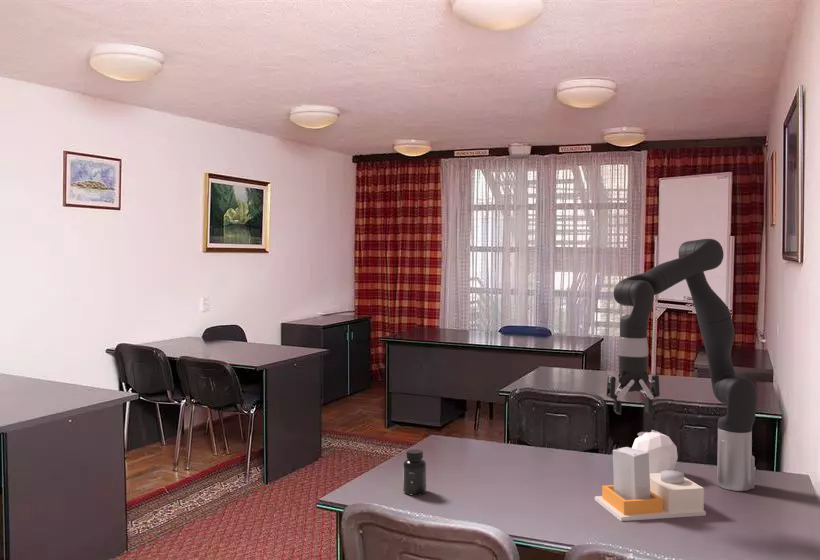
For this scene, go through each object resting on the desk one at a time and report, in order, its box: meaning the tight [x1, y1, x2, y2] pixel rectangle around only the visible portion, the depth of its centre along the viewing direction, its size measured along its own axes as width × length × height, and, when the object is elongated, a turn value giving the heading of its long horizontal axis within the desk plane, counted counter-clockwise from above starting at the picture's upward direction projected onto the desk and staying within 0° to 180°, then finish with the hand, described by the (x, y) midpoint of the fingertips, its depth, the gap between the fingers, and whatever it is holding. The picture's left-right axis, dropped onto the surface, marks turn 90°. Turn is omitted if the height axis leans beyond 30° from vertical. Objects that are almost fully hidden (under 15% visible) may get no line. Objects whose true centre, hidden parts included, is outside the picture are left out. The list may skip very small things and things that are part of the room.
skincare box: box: [612, 446, 651, 500], centre depth 188 cm, size 8×6×15 cm
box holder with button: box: [594, 470, 707, 522], centre depth 189 cm, size 24×16×9 cm, turn 99°
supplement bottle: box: [402, 448, 427, 496], centre depth 201 cm, size 7×7×12 cm
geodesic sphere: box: [631, 429, 679, 473], centre depth 217 cm, size 15×14×14 cm
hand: (632, 413), depth 187 cm, fingers open, 8 cm apart
